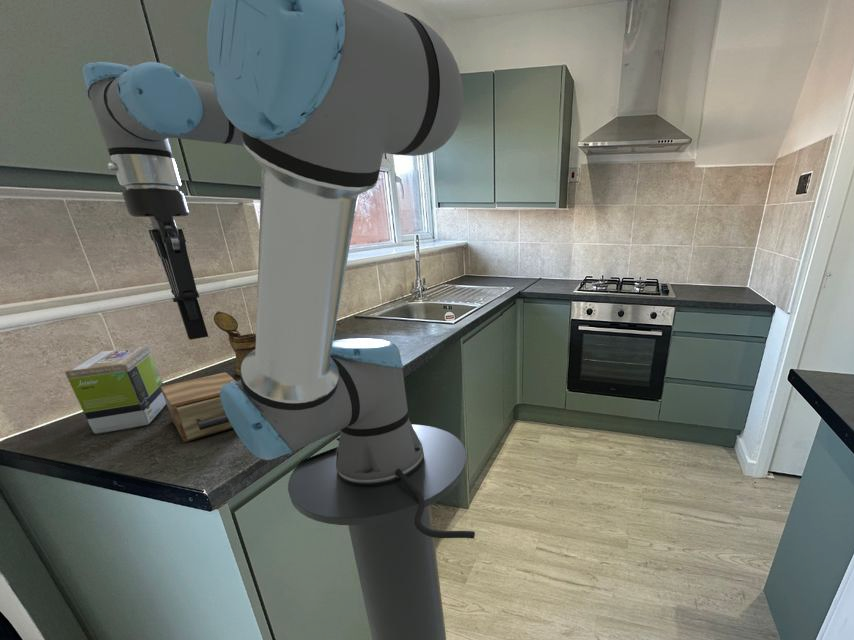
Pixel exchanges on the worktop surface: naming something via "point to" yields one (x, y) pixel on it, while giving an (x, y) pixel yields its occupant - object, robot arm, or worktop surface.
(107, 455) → the worktop surface
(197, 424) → the drawer
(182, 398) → the cabinet
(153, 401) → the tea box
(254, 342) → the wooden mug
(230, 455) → the worktop surface
